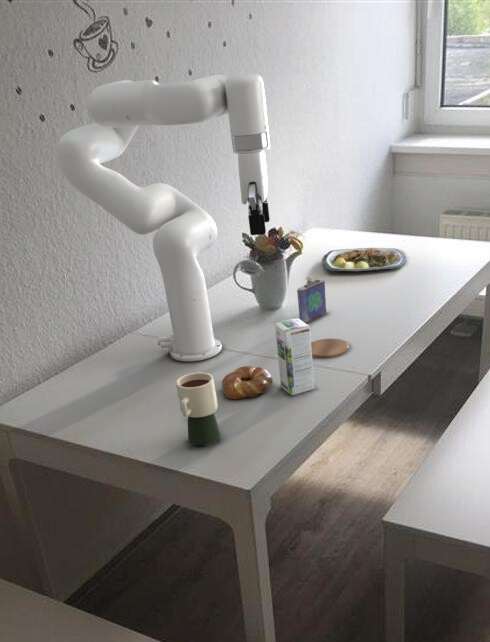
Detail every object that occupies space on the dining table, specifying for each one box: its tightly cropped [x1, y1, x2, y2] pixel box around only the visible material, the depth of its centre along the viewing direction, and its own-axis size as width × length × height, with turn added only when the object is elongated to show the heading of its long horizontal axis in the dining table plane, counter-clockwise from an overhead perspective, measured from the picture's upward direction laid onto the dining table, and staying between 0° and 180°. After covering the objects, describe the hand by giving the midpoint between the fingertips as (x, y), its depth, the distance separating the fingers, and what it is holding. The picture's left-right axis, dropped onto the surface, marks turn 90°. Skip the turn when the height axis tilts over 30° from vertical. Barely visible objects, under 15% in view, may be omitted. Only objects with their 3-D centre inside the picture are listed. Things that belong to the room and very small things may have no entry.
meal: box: [321, 247, 407, 272], centre depth 238 cm, size 25×25×3 cm
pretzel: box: [221, 365, 274, 400], centre depth 169 cm, size 12×11×4 cm
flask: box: [296, 276, 327, 324], centre depth 200 cm, size 9×3×11 cm, turn 134°
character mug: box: [175, 371, 221, 446], centre depth 149 cm, size 11×7×13 cm, turn 156°
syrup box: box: [274, 317, 315, 396], centre depth 164 cm, size 6×6×14 cm
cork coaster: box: [311, 338, 349, 359], centre depth 184 cm, size 10×10×1 cm
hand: (260, 228), depth 167 cm, fingers open, 9 cm apart
